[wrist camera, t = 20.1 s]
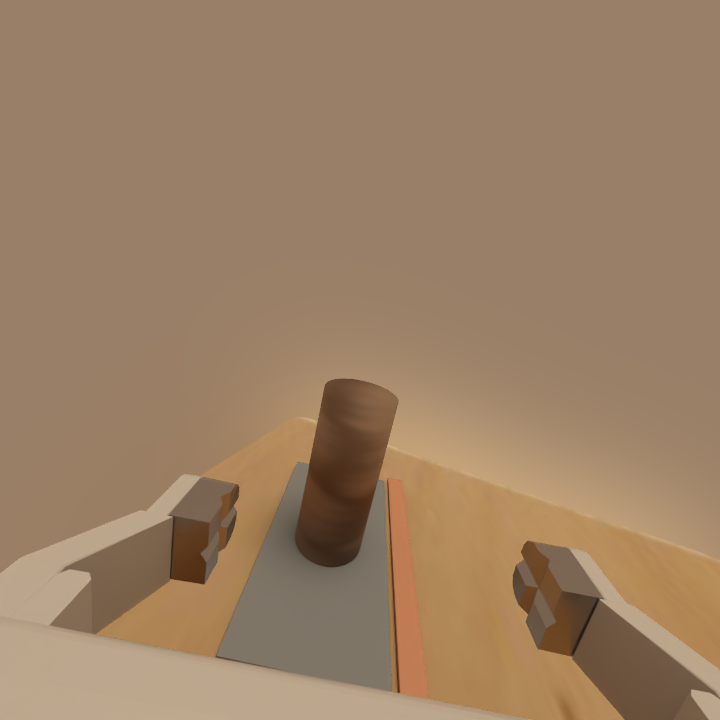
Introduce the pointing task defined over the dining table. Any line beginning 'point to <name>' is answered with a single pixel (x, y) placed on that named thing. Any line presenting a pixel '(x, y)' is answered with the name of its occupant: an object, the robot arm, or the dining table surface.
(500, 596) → the dining table surface
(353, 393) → the brown tall cylinder
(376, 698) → the robot arm
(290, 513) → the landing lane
